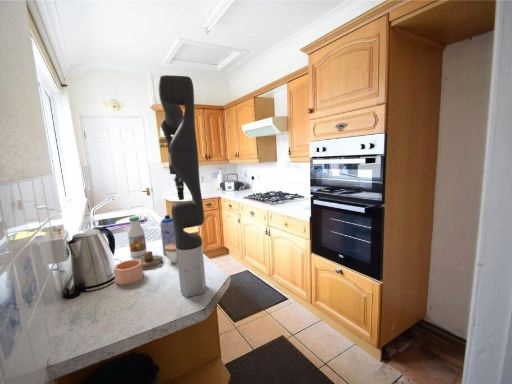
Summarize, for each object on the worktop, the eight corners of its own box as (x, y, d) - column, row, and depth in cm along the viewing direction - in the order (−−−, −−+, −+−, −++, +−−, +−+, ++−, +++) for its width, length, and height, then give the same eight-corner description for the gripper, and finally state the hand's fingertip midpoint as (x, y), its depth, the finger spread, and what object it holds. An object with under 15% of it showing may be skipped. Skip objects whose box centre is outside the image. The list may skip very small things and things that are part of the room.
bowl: (141, 281, 104) (140, 267, 104) (114, 286, 101) (112, 272, 100) (143, 270, 114) (142, 258, 113) (118, 275, 111) (116, 262, 110)
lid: (162, 265, 117) (161, 254, 116) (134, 270, 114) (133, 259, 113) (162, 256, 128) (161, 246, 127) (137, 260, 124) (135, 250, 124)
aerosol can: (179, 254, 131) (175, 216, 128) (163, 257, 129) (159, 218, 125) (178, 249, 139) (174, 212, 136) (162, 251, 136) (158, 214, 133)
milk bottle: (127, 256, 132) (122, 218, 129) (139, 250, 139) (134, 214, 136) (138, 257, 129) (133, 219, 126) (150, 252, 136) (145, 215, 133)
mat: (161, 266, 118) (161, 265, 118) (135, 271, 114) (135, 269, 114) (161, 257, 128) (161, 256, 128) (137, 261, 124) (137, 260, 124)
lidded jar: (183, 265, 117) (181, 246, 116) (162, 264, 119) (159, 245, 118) (193, 256, 127) (191, 238, 126) (173, 255, 130) (171, 237, 128)
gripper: (187, 163, 111) (190, 199, 114) (184, 162, 125) (187, 195, 127) (169, 164, 109) (172, 201, 111) (168, 163, 122) (172, 197, 125)
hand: (180, 198), depth 119 cm, fingers open, 8 cm apart
